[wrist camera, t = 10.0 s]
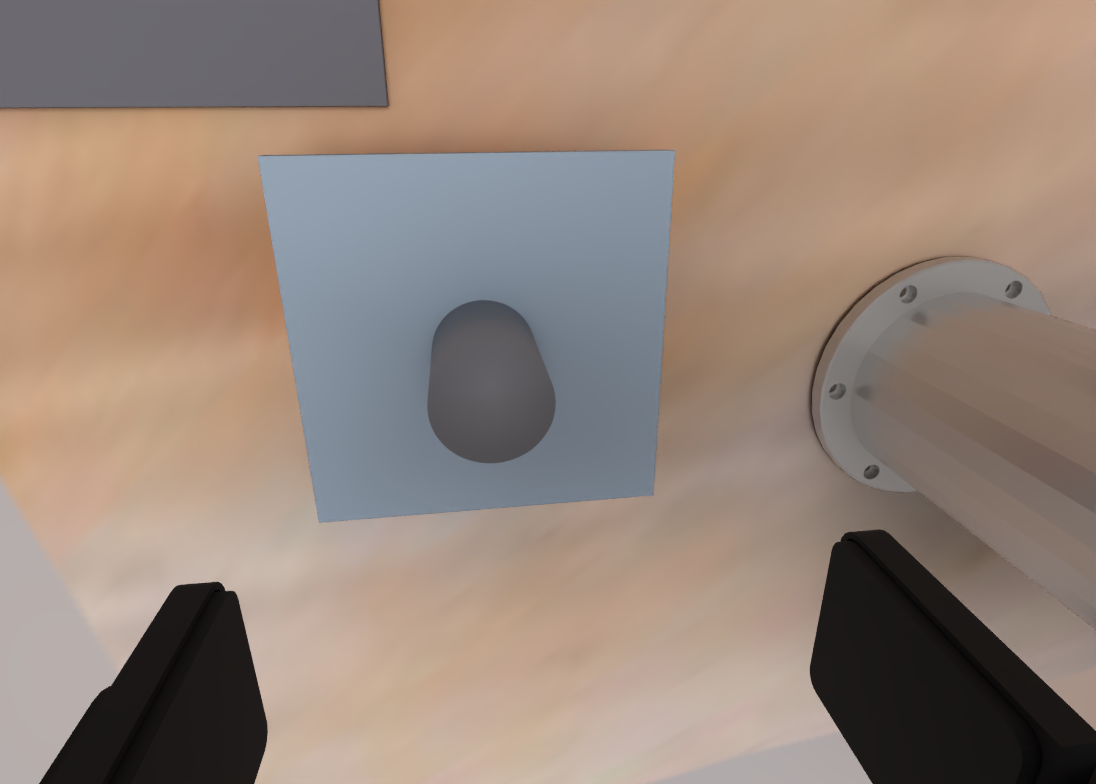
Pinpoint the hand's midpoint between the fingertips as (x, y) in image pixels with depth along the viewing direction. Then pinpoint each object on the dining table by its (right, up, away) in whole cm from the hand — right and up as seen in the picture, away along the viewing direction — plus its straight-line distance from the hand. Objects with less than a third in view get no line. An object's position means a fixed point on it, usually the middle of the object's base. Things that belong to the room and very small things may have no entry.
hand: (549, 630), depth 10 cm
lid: (-2, +5, +13) cm, 15 cm away
